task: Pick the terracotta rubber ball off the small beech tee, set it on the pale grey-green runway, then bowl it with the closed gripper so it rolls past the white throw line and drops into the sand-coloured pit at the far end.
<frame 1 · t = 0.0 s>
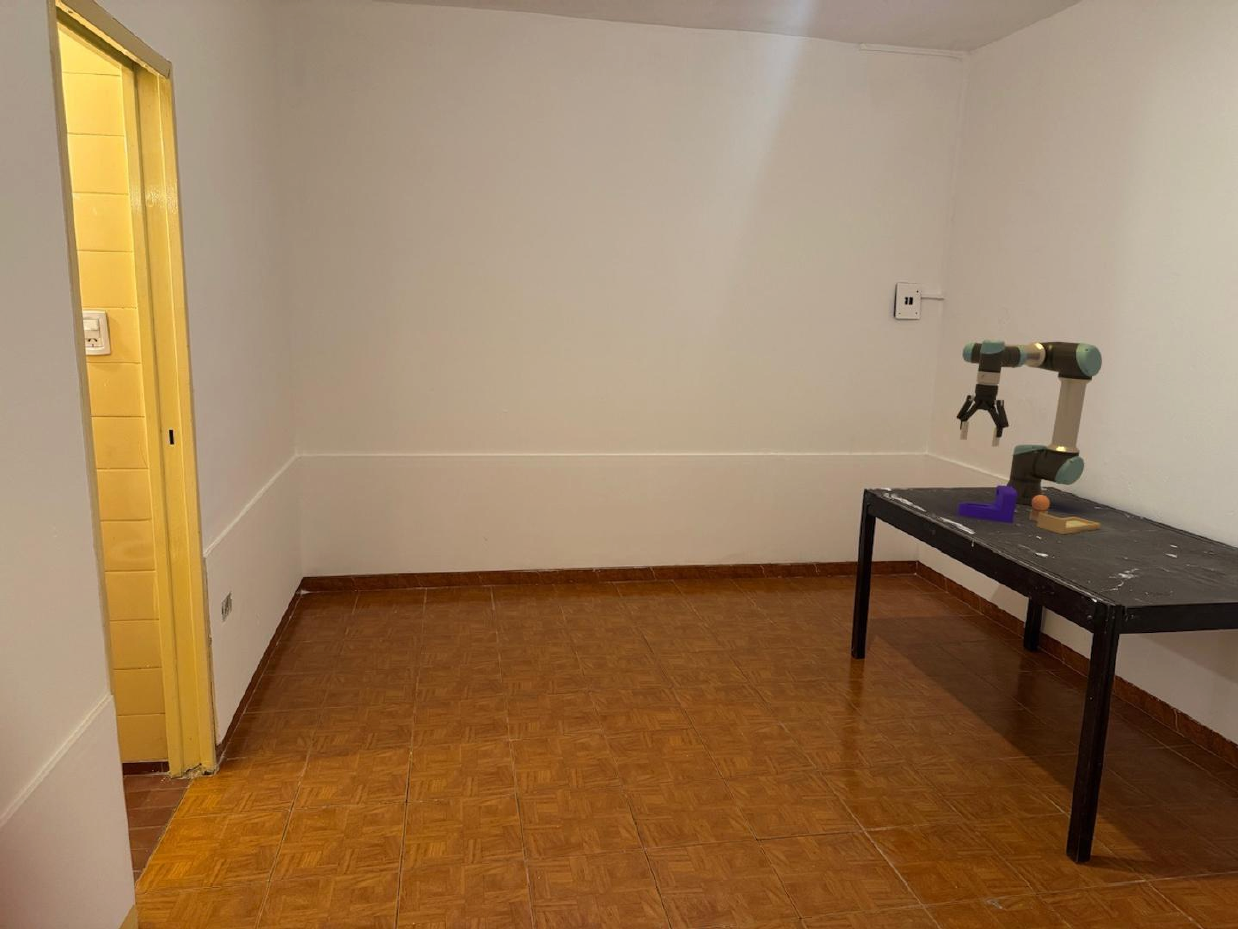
hand: (978, 442, 311), 28 cm above the table, fingers open, 13 cm apart
bracket: (983, 517, 320), on the table
tee: (1037, 520, 319), on the table
court: (1068, 527, 311), on the table
ball: (1040, 503, 318), point 7 cm above the table, touching tee
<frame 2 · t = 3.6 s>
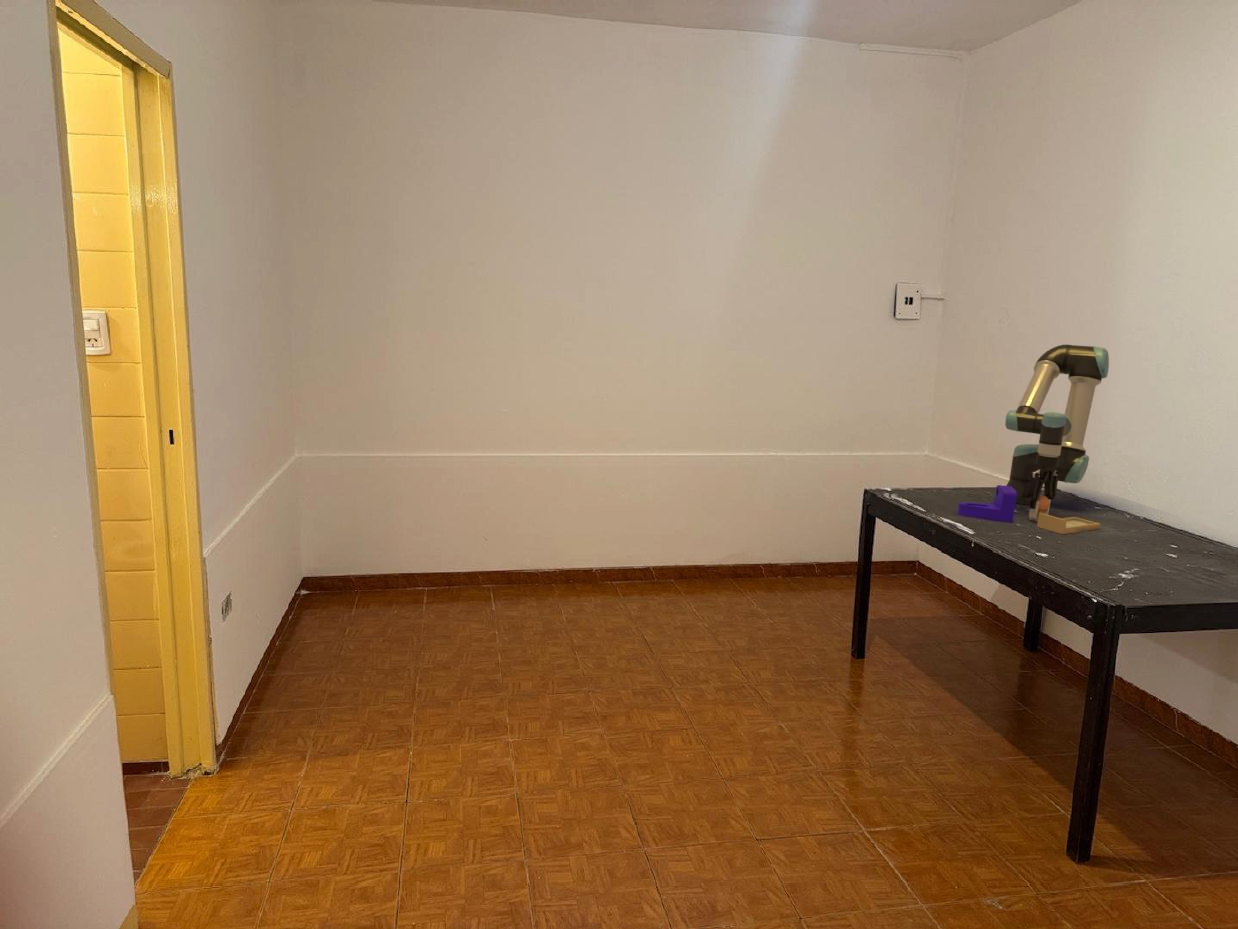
hand: (1038, 516, 319), 1 cm above the table, fingers closed on ball, 6 cm apart
ball: (1040, 503, 318), point 7 cm above the table, touching gripper, tee
everything else where it was.
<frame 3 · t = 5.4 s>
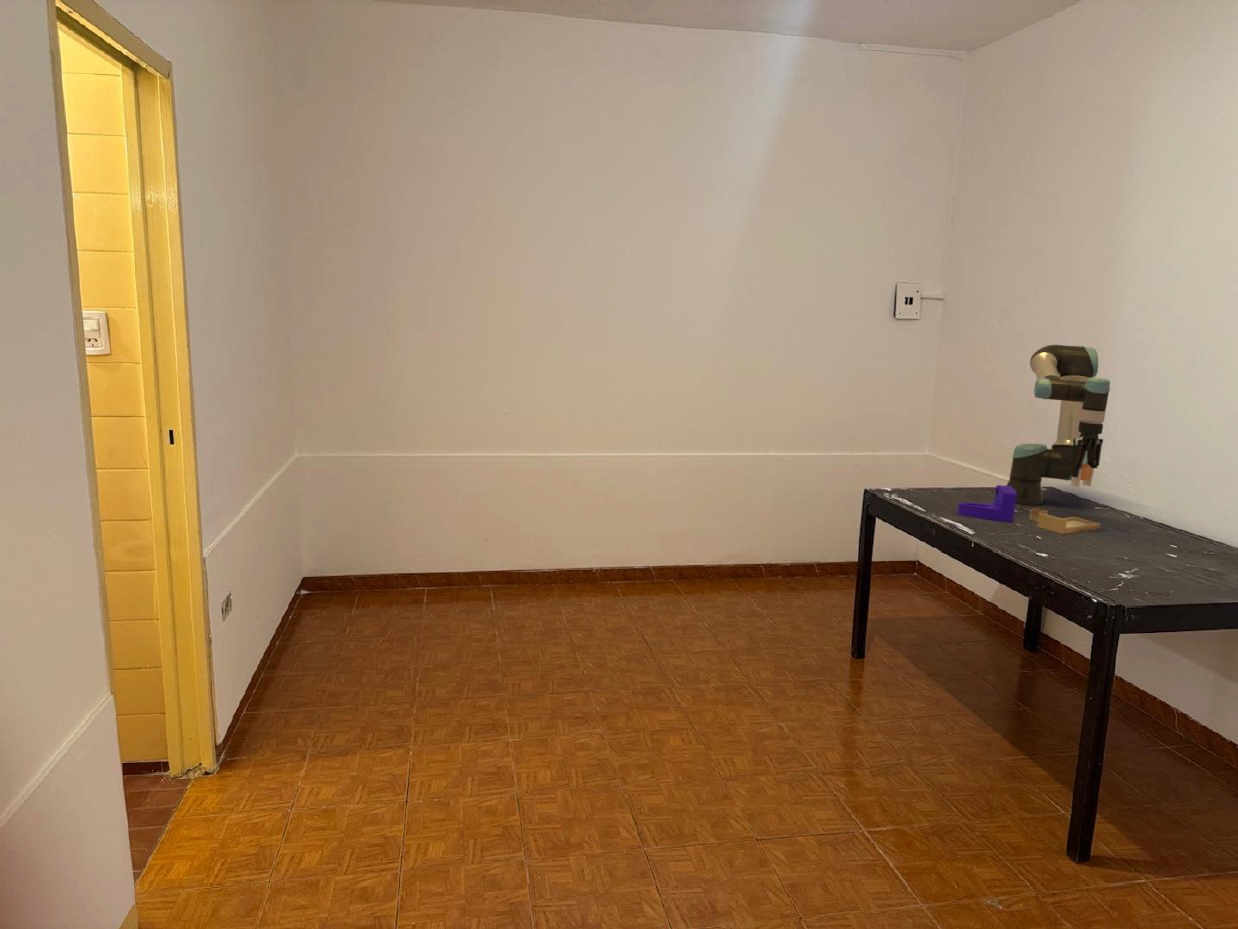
hand: (1080, 485, 311), 15 cm above the table, fingers closed on ball, 6 cm apart
ball: (1083, 471, 310), point 20 cm above the table, touching gripper
everything else where it was.
when the fingers open (2 cm above the table, at t = 7.3 s): ball drops 3 cm, resting on court.
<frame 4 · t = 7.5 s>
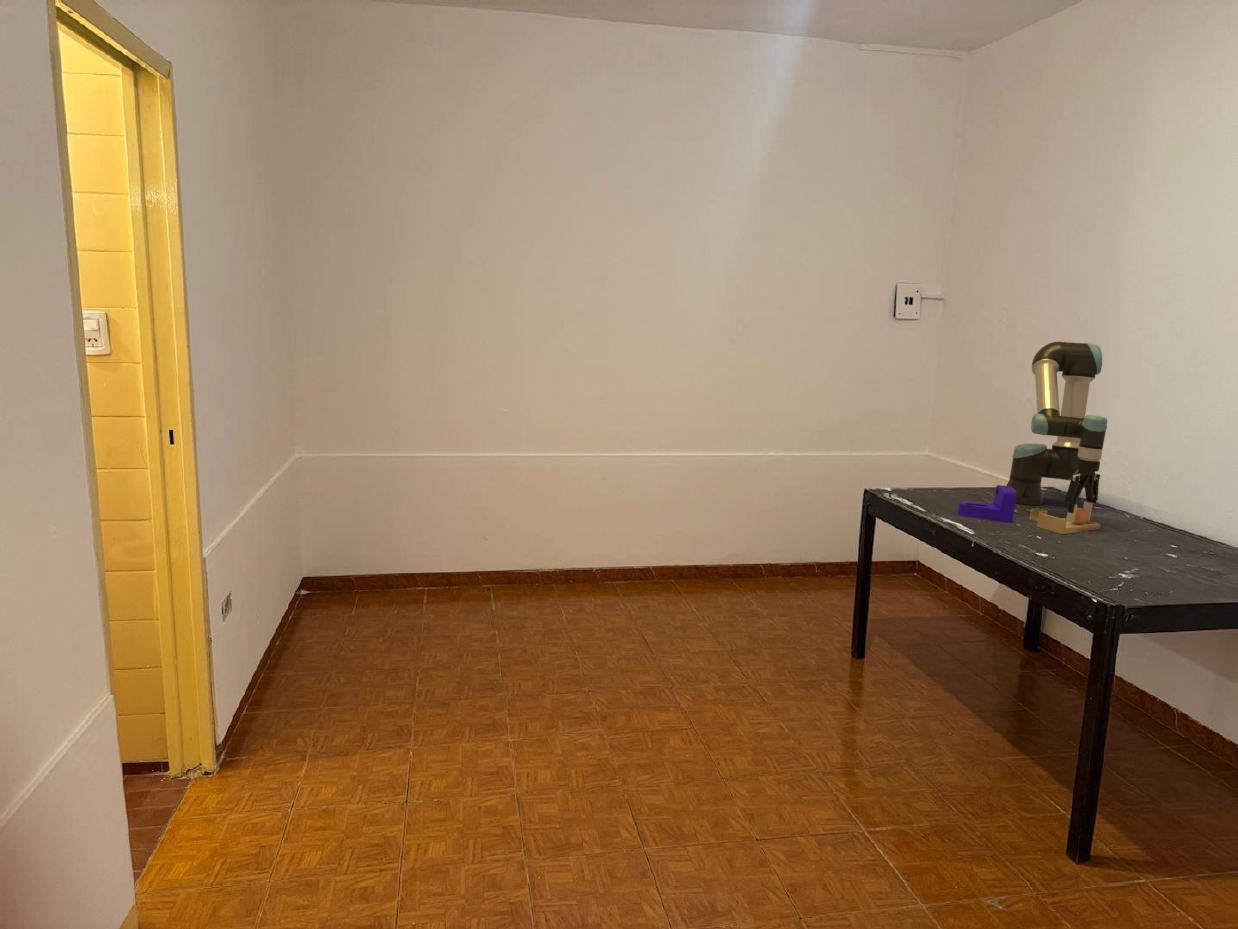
hand: (1077, 520, 313), 2 cm above the table, fingers open, 8 cm apart
ball: (1079, 516, 313), point 4 cm above the table, touching court
everything else where it was.
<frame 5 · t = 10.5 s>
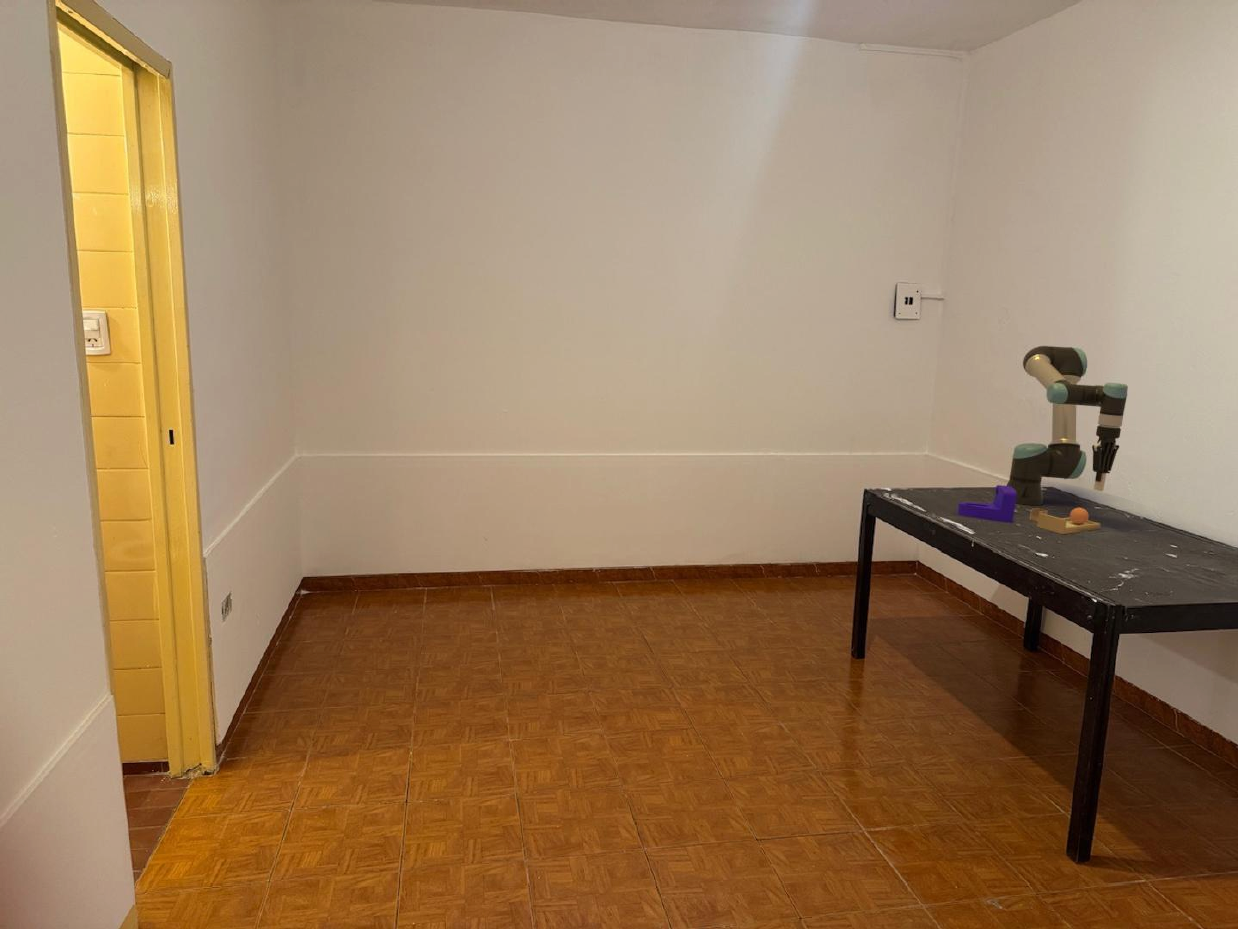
hand: (1098, 490, 315), 13 cm above the table, fingers closed
nothing on the table moved.
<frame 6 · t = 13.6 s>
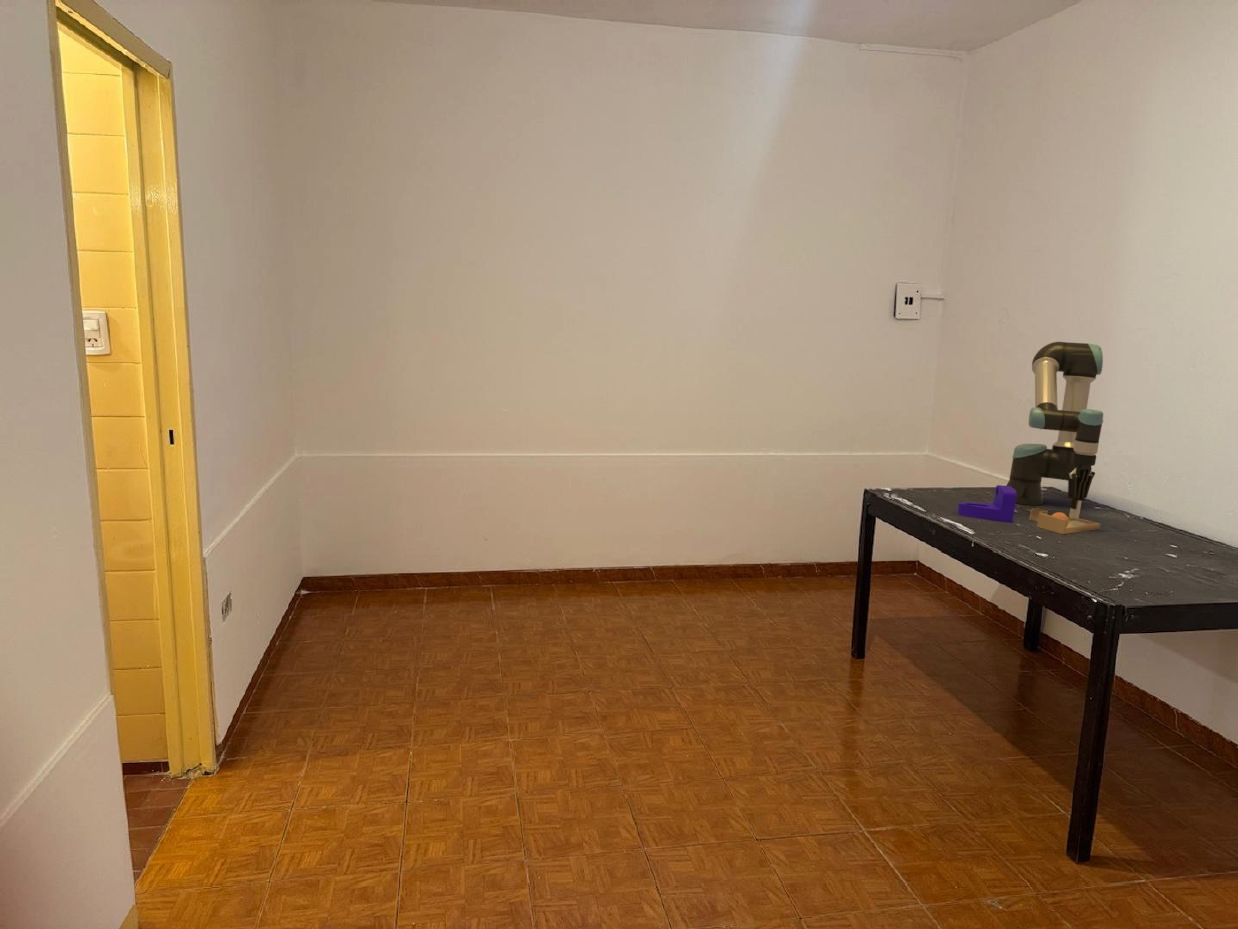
hand: (1073, 517, 311), 4 cm above the table, fingers closed
ball: (1059, 520, 307), point 3 cm above the table, tilted 131°, touching court
everything else where it was.
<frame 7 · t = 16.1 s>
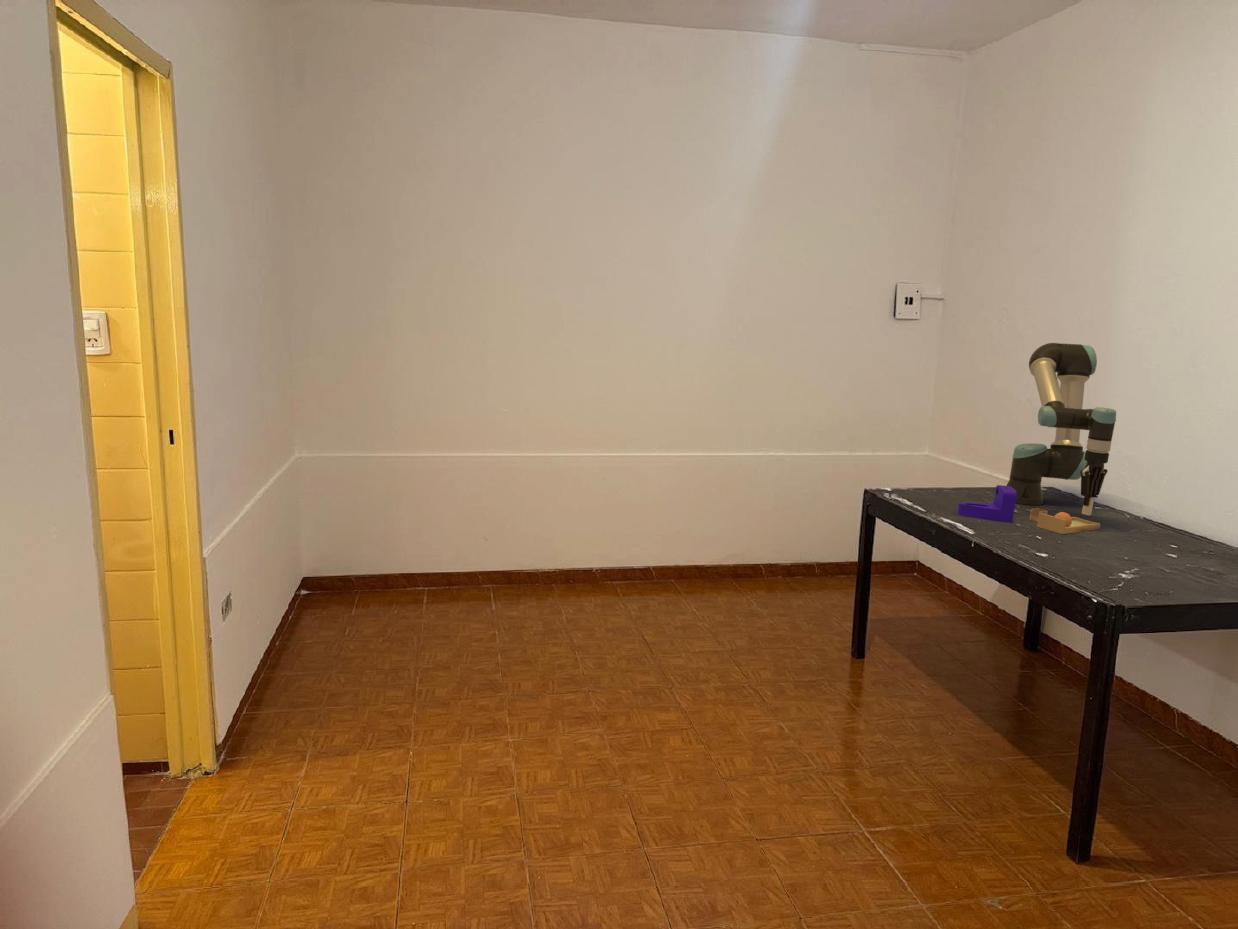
hand: (1086, 514, 316), 4 cm above the table, fingers closed
ball: (1062, 520, 307), point 3 cm above the table, tilted 161°, touching court
everything else where it was.
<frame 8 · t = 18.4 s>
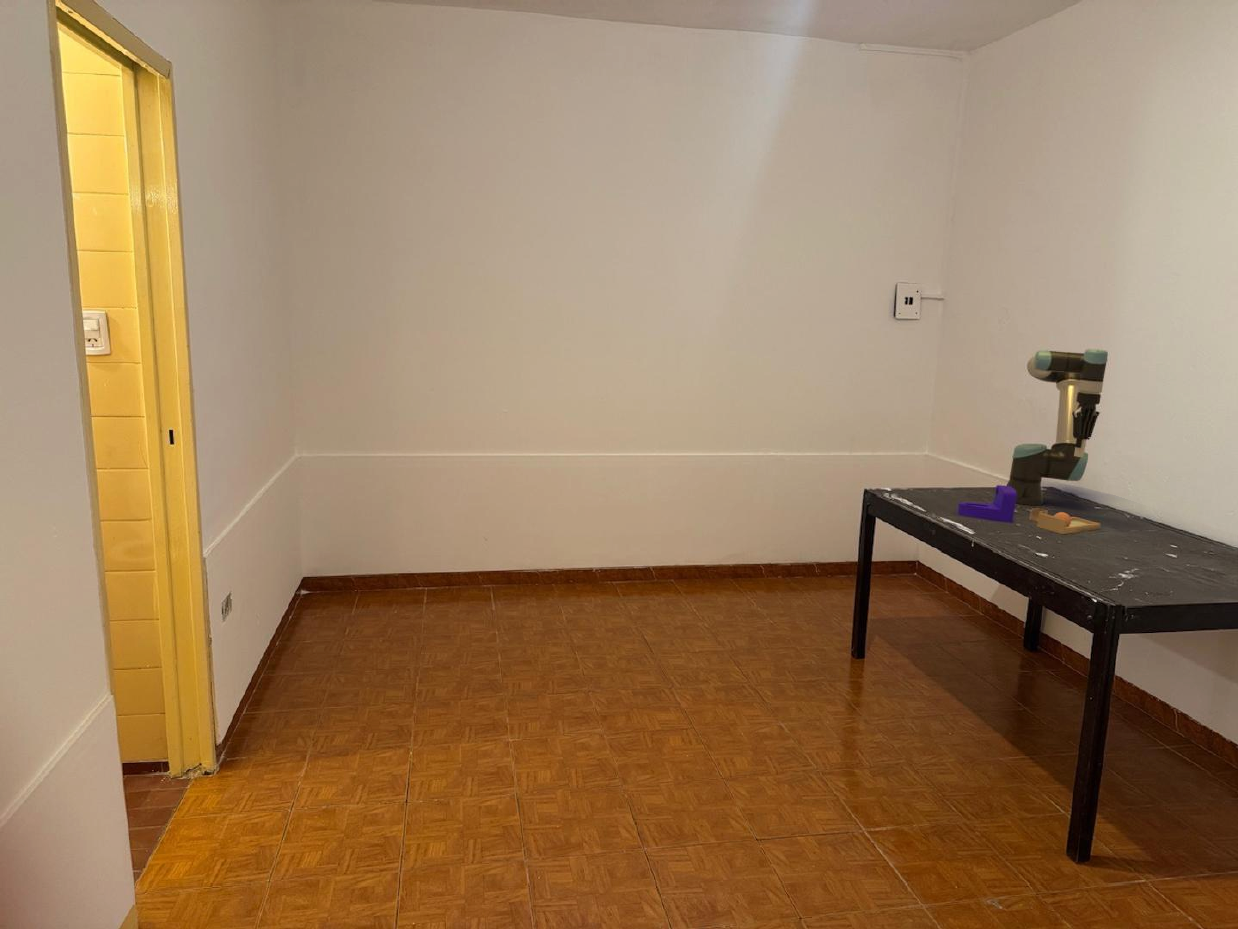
hand: (1078, 456, 317), 24 cm above the table, fingers closed
ball: (1061, 520, 307), point 3 cm above the table, tilted 153°, touching court
everything else where it was.
at the end: ball inside the target area on the court (1.0 cm from its centre), point 3.2 cm above the court's base; the gripper is holding nothing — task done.
